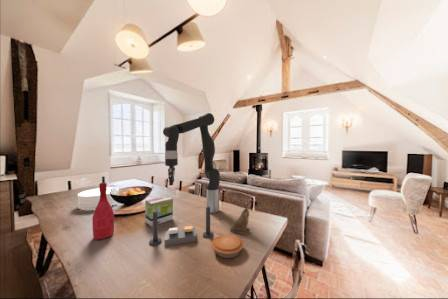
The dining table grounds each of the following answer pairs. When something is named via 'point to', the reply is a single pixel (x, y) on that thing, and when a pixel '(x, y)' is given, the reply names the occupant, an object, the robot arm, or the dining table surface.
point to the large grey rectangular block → (180, 237)
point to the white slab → (172, 230)
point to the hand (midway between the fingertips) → (171, 183)
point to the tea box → (159, 209)
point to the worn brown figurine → (241, 223)
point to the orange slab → (188, 228)
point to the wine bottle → (103, 216)
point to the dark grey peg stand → (208, 224)
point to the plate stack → (92, 198)
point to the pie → (227, 245)
